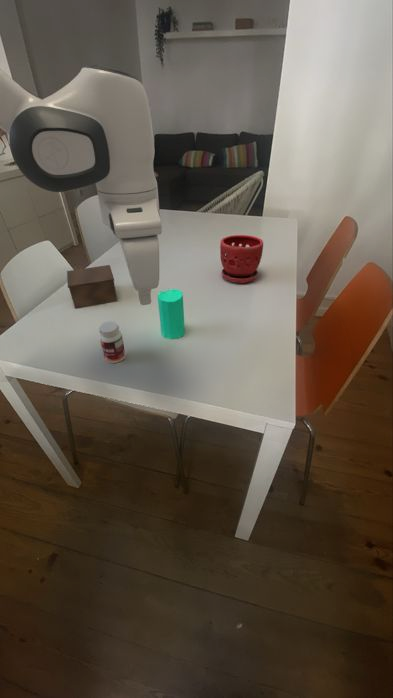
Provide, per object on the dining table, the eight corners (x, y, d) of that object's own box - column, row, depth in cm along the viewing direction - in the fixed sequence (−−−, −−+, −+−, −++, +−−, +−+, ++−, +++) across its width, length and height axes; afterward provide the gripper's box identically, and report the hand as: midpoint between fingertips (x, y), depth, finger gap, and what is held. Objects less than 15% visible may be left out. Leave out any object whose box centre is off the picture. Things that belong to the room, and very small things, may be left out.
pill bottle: (100, 359, 72) (92, 329, 66) (114, 348, 75) (107, 318, 70) (117, 366, 70) (109, 335, 65) (130, 353, 73) (124, 323, 68)
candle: (186, 326, 82) (184, 283, 74) (182, 339, 77) (180, 295, 70) (163, 324, 82) (159, 282, 75) (158, 338, 78) (153, 294, 70)
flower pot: (266, 282, 100) (271, 244, 93) (227, 288, 98) (229, 250, 90) (249, 266, 110) (252, 231, 103) (214, 271, 108) (214, 235, 100)
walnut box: (74, 309, 90) (67, 286, 85) (73, 292, 98) (67, 271, 93) (118, 301, 93) (114, 278, 88) (113, 286, 101) (109, 264, 96)
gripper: (104, 195, 56) (117, 269, 64) (115, 230, 40) (130, 322, 49) (140, 192, 57) (148, 265, 65) (164, 225, 41) (170, 315, 50)
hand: (141, 290), depth 57 cm, fingers open, 8 cm apart
